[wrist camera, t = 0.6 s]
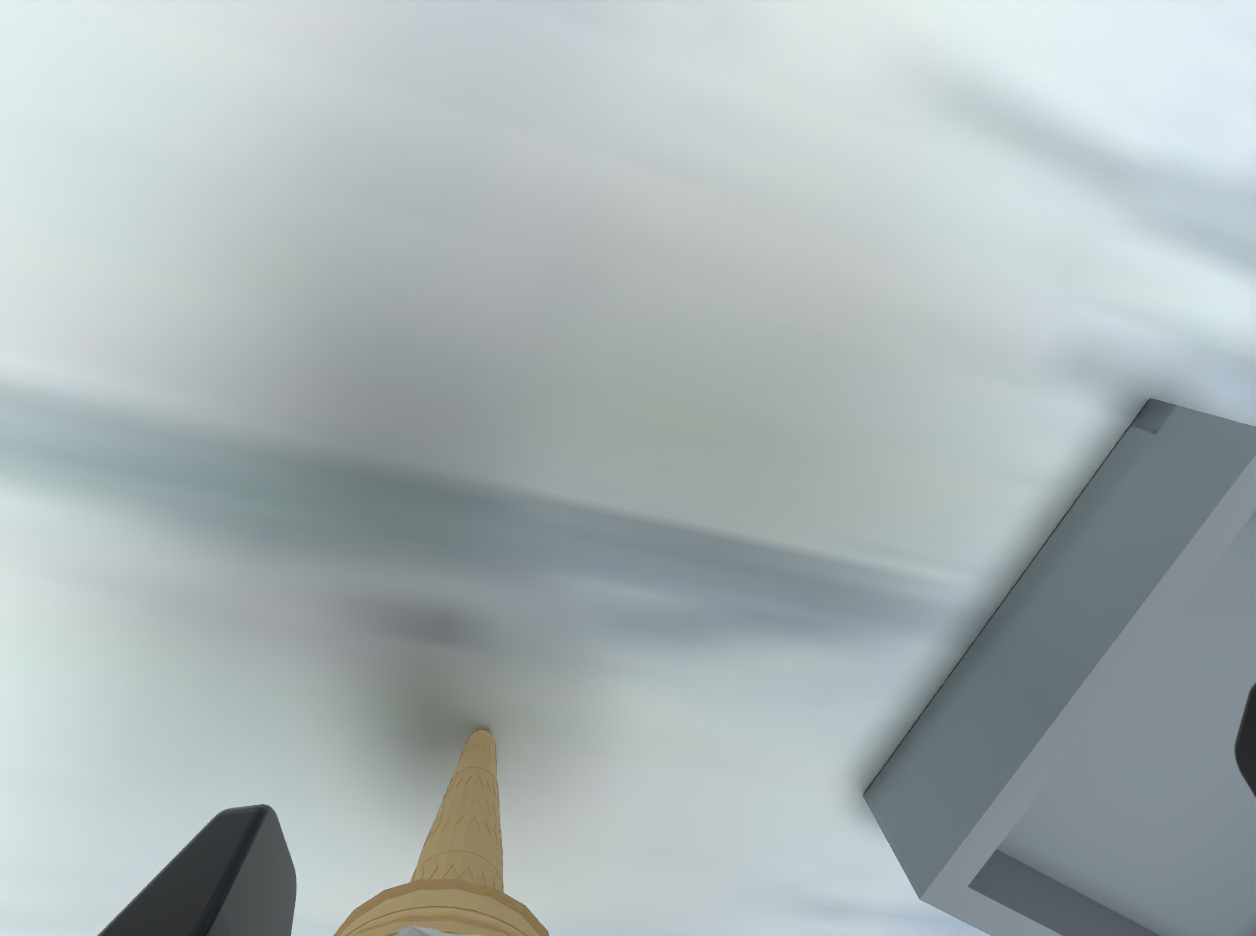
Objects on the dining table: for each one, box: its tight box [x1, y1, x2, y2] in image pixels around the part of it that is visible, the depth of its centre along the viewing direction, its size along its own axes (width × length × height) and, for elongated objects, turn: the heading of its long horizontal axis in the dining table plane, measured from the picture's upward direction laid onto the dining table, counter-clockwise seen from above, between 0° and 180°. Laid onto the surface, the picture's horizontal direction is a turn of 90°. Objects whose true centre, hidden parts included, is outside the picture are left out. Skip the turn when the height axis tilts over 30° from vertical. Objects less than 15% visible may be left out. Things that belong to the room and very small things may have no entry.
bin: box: [863, 398, 1256, 936], centre depth 23 cm, size 13×13×4 cm
